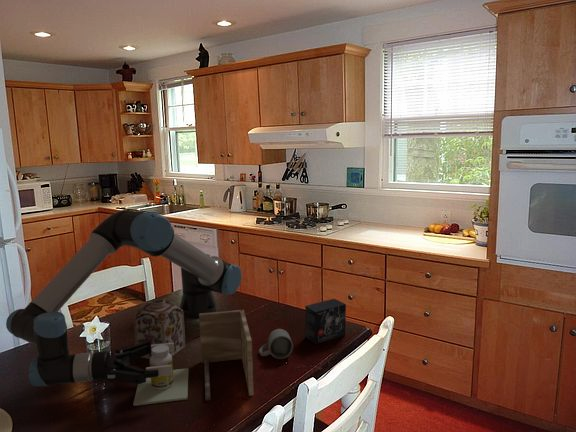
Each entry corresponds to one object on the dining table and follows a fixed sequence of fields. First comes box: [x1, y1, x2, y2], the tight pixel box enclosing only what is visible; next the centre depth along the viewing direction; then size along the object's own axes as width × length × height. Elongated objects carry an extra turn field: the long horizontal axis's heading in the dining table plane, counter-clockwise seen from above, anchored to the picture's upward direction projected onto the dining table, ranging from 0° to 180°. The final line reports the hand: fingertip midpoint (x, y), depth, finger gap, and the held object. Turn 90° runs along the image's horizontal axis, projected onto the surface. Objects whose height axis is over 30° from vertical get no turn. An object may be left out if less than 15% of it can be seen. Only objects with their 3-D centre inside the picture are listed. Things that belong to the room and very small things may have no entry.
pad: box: [133, 367, 189, 406], centre depth 130 cm, size 16×14×1 cm
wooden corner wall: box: [199, 309, 255, 402], centre depth 133 cm, size 23×14×16 cm, turn 11°
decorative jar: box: [133, 298, 186, 360], centre depth 149 cm, size 12×12×18 cm
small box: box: [304, 298, 347, 345], centre depth 159 cm, size 13×7×12 cm, turn 123°
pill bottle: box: [149, 345, 174, 390], centre depth 129 cm, size 6×6×11 cm
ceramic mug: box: [258, 328, 294, 360], centre depth 148 cm, size 11×8×8 cm
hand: (173, 358), depth 129 cm, fingers open, 13 cm apart
